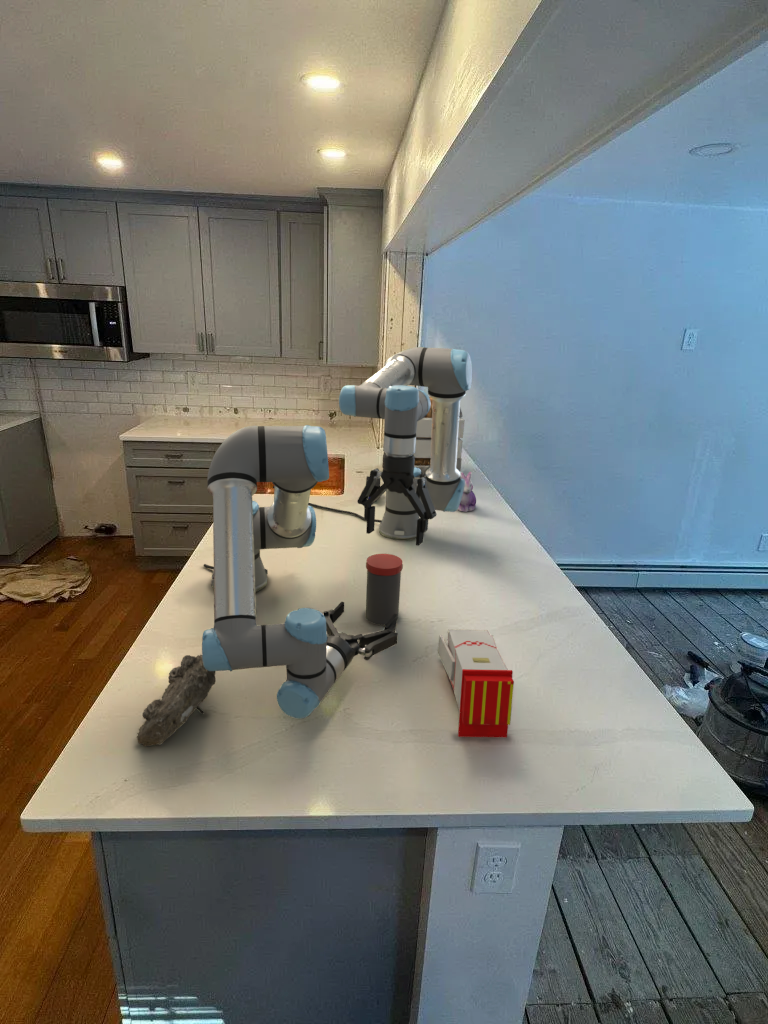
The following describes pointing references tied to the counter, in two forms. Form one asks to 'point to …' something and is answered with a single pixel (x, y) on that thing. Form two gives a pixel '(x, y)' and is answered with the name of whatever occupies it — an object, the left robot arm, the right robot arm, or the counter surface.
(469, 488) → the figurine
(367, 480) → the figurine character
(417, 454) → the white storage crate
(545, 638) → the counter surface
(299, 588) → the counter surface
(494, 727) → the toy
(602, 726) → the counter surface
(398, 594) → the jar
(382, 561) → the lid
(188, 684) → the fossil
